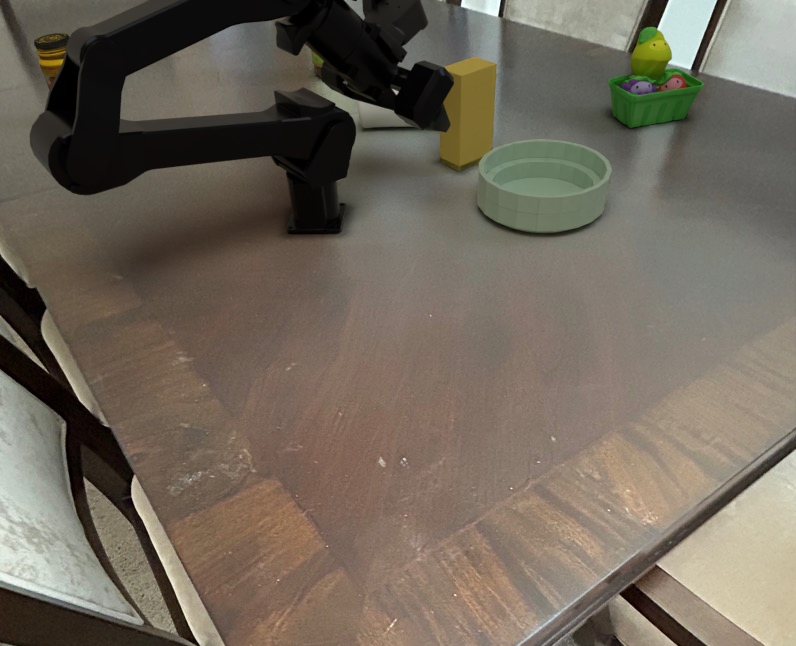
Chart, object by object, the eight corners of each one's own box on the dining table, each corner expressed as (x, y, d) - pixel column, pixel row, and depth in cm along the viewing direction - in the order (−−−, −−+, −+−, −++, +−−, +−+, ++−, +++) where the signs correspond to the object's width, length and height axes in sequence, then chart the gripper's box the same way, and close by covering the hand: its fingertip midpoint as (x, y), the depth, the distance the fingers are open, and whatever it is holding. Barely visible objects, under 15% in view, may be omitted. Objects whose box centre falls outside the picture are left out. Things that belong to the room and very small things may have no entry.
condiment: (57, 130, 106) (24, 46, 97) (60, 111, 112) (29, 31, 103) (105, 122, 107) (76, 40, 99) (105, 104, 113) (78, 25, 105)
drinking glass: (360, 137, 98) (462, 127, 97) (354, 86, 95) (460, 74, 93) (364, 129, 104) (461, 119, 102) (359, 81, 100) (459, 70, 99)
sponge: (459, 171, 89) (461, 75, 81) (439, 162, 91) (439, 68, 83) (491, 157, 92) (497, 63, 83) (471, 149, 94) (474, 56, 85)
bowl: (613, 237, 76) (622, 196, 72) (478, 238, 77) (480, 197, 73) (594, 176, 86) (600, 137, 83) (475, 178, 87) (477, 140, 84)
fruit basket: (626, 133, 95) (642, 46, 87) (596, 111, 101) (609, 28, 94) (697, 121, 97) (720, 35, 89) (664, 100, 103) (682, 18, 95)
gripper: (441, -20, 64) (513, 75, 76) (330, -47, 74) (409, 41, 87) (380, 88, 66) (460, 163, 78) (281, 47, 77) (365, 119, 89)
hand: (423, 117), depth 83 cm, fingers open, 9 cm apart
